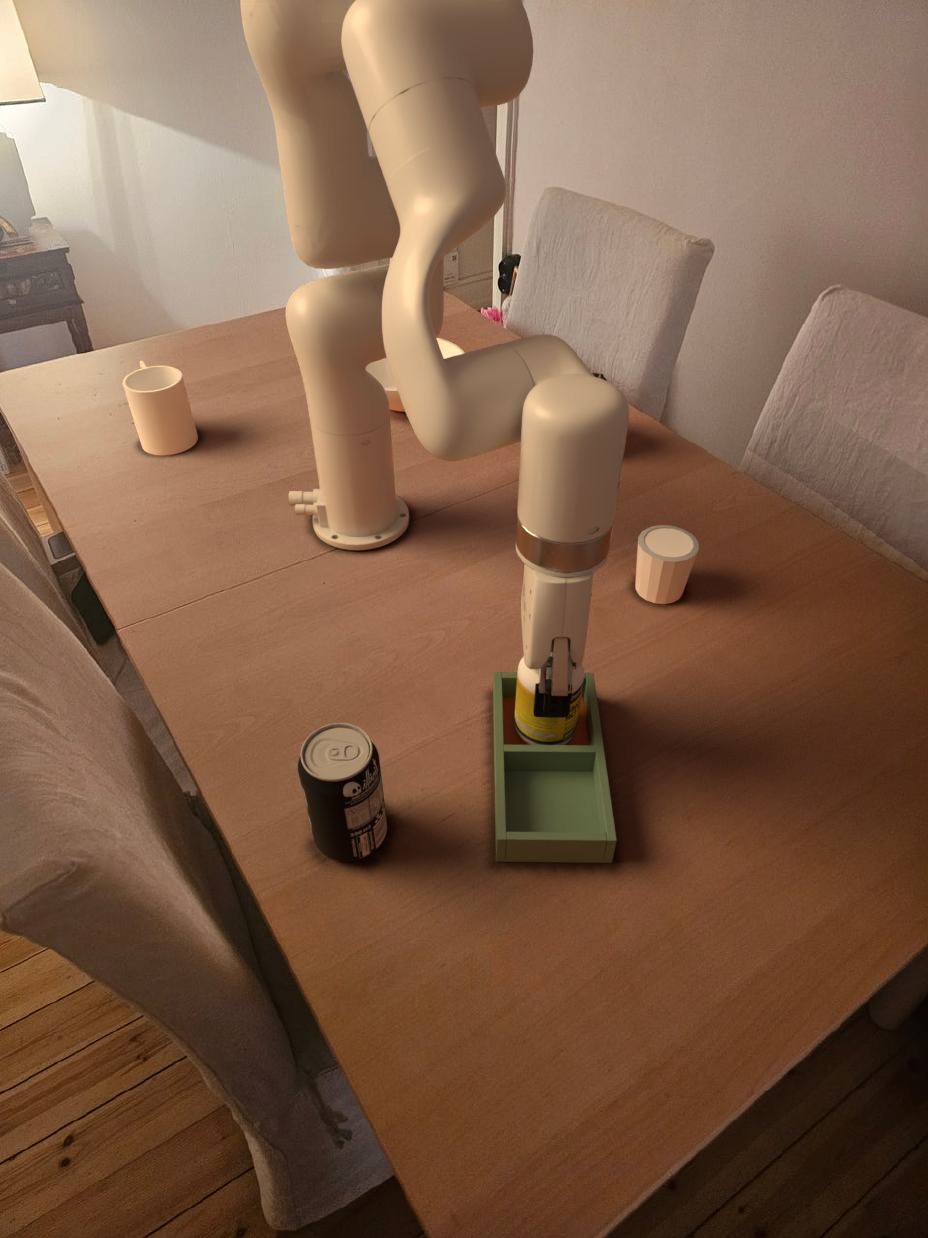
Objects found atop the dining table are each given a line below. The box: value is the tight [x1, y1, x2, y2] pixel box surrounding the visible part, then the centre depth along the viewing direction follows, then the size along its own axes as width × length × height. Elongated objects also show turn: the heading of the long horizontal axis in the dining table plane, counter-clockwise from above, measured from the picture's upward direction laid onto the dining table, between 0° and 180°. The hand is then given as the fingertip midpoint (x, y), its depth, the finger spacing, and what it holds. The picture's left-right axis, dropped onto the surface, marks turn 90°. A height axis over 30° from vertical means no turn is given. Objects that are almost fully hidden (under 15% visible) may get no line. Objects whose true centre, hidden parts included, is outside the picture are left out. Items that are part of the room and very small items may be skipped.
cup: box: [121, 360, 199, 456], centre depth 121 cm, size 8×12×10 cm
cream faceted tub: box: [634, 524, 700, 605], centre depth 96 cm, size 7×7×7 cm
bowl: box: [366, 337, 466, 413], centre depth 130 cm, size 20×20×7 cm
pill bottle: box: [514, 652, 585, 745], centre depth 78 cm, size 6×6×11 cm
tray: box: [492, 671, 618, 864], centre depth 77 cm, size 10×19×4 cm, turn 179°
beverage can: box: [297, 722, 388, 863], centre depth 70 cm, size 7×7×12 cm
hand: (548, 685), depth 77 cm, fingers closed on pill bottle, 6 cm apart
